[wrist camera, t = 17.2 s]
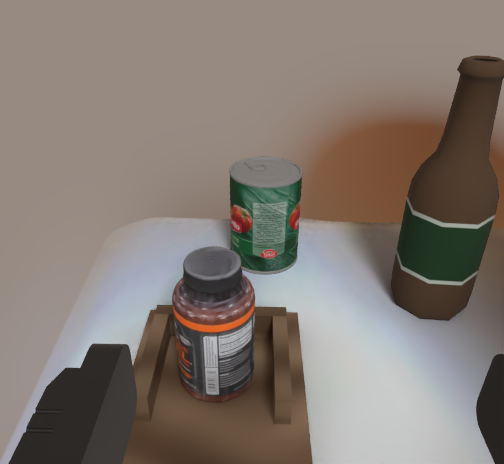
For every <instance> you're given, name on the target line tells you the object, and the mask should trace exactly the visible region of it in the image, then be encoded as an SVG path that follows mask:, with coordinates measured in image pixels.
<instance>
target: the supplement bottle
mask: <svg viewBox="0 0 504 464" xmlns="http://www.w3.org/2000/svg"><path fill="white" fill-rule="evenodd" d="M183 268H184V274H183V278H182V279H181V280H180V281H179V282H178V283H177V285H176V286H175V289H174V291H173V298H172V301H173V314H174V323H175V333H176V343H177V355H178V364H179V375H180V378H181V382H182V385H183V386H184V388H185V389H186V391H187V392H188V393H189V394H191V395H192V396H193V397H195V398H197V399H198V400H202V401H206V402H216V403H218V402H225V401H229V400H231V399H234V398H236V397H238V396H239V395H240V394H242V393H243V392H244V391H245V390H246V389H247V388H248V387H249V385H250V383H251V380H252V377H253V370H254V335H255V294H254V288H253V286H252V284H251V282H250V281H249V280H248V278H247V277H245V276H244V275H243V274H242V270H241V259H240V257H239V255H237V253H235V252H234V251H232V250H230V249H227V248H222V247H214V246H213V247H205V248H201V249H198V250H195V251H193V252H191V253H190V254H189V255H188V256H187V257H186V258H185V260H184V264H183Z"/></svg>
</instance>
